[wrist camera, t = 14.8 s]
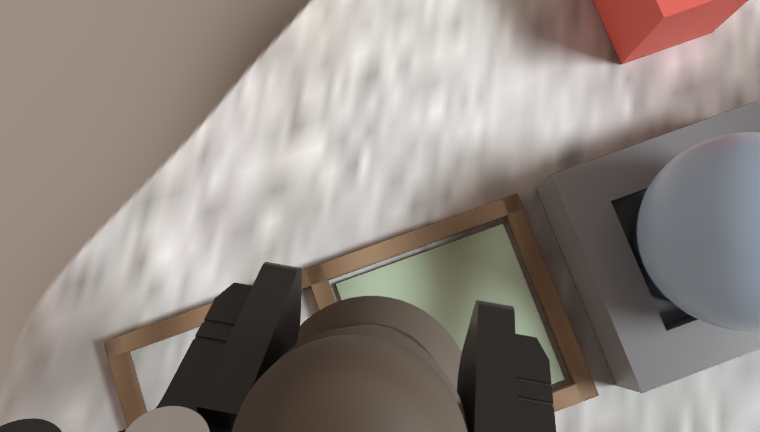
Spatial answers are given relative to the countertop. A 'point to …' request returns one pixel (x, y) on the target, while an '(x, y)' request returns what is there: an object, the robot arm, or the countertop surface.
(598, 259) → the housing
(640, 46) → the die
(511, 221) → the window frame
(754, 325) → the pale blue sphere
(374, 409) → the pawn
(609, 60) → the countertop surface
